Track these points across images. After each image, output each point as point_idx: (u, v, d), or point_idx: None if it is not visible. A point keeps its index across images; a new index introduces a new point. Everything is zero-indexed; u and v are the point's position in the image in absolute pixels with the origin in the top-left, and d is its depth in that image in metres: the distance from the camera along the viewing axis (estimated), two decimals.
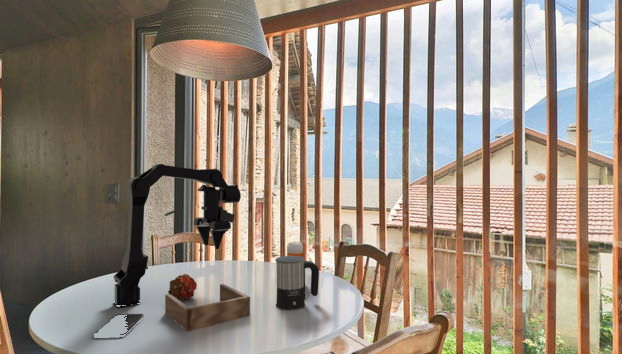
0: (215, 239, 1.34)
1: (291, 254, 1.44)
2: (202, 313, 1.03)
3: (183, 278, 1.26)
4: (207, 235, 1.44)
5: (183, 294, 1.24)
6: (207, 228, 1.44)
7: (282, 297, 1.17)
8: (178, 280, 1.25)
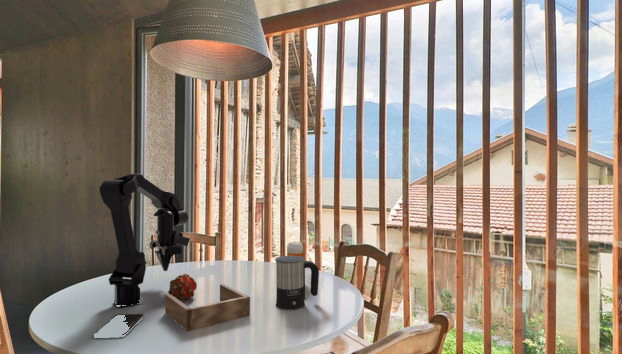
0: (163, 261, 1.39)
1: (291, 254, 1.44)
2: (202, 313, 1.03)
3: (183, 278, 1.26)
4: None
5: (183, 294, 1.24)
6: None
7: (282, 297, 1.17)
8: (178, 280, 1.25)
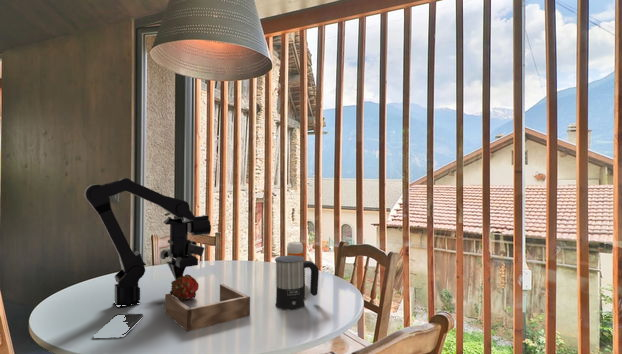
0: (176, 273, 1.29)
1: (291, 254, 1.44)
2: (202, 313, 1.03)
3: (185, 279, 1.25)
4: None
5: (185, 295, 1.23)
6: None
7: (281, 297, 1.17)
8: (180, 280, 1.24)
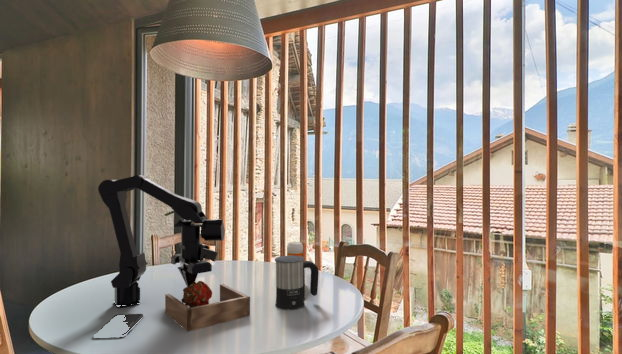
0: (188, 280, 1.21)
1: (291, 254, 1.44)
2: (202, 313, 1.03)
3: (197, 286, 1.17)
4: None
5: (196, 303, 1.15)
6: None
7: (281, 297, 1.17)
8: (192, 288, 1.16)
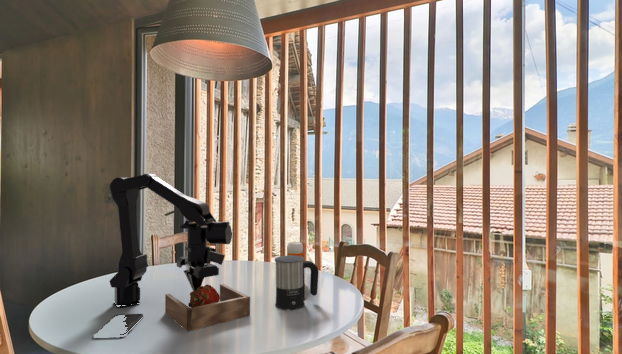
0: (194, 284, 1.17)
1: (291, 254, 1.44)
2: (202, 313, 1.03)
3: (204, 289, 1.13)
4: None
5: None
6: None
7: (281, 297, 1.17)
8: (199, 292, 1.12)
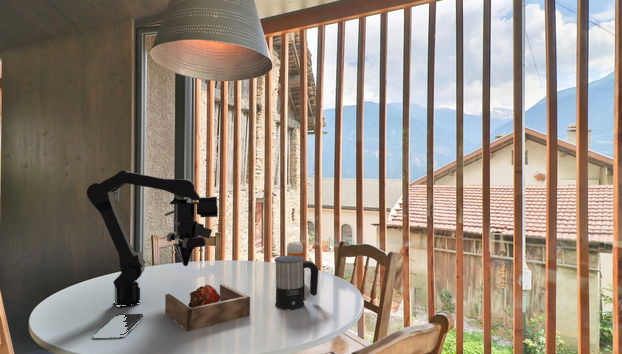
0: (183, 255, 1.25)
1: (291, 254, 1.44)
2: (202, 313, 1.03)
3: (204, 290, 1.13)
4: None
5: None
6: None
7: (281, 297, 1.17)
8: (199, 292, 1.12)
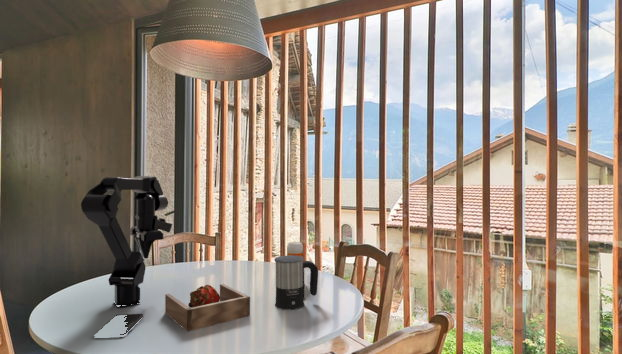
0: (143, 248, 1.31)
1: (291, 254, 1.44)
2: (202, 313, 1.03)
3: (204, 290, 1.13)
4: None
5: None
6: None
7: (281, 296, 1.17)
8: (199, 292, 1.12)
